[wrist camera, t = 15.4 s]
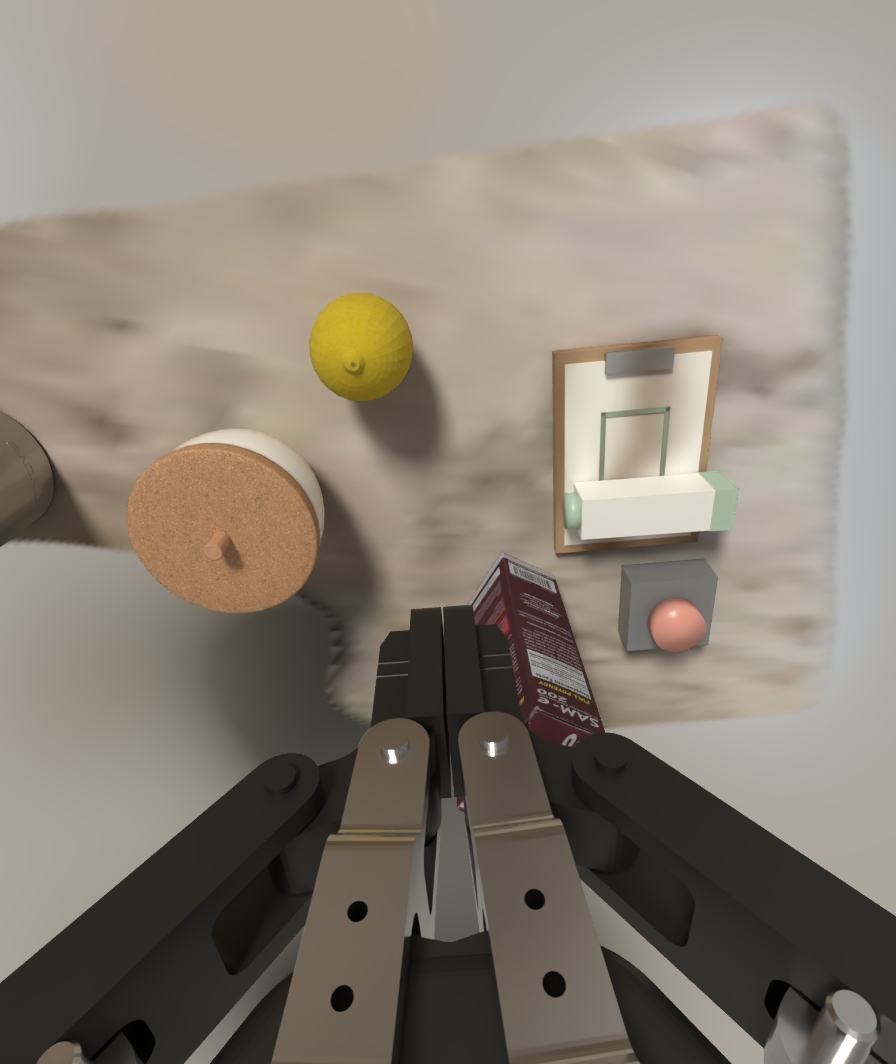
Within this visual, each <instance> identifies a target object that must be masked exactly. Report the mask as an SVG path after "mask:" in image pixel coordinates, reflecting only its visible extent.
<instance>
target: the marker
mask: <svg viewBox="0 0 896 1064" xmlns="http://www.w3.org/2000/svg"><path fill="white" fill-rule="evenodd" d="M738 491H739V488H738V487H737V486H736V485H734V484H733V483H732V482H731V481H730V480H729V479H728V478H727V477H726V476H725V475H724V474H723V473H722V472H721V471H708V472H698V473H695V474H681V475H668V476H655V477H642V478H629V479H615V480H602V481H589V482H576V483H574V493H564V494H563V497H562V515H563V522H564V526H565V529H566V530H573V529H577V531H578V533H579V536H580V538H581V540H586V539H599V538H613V537H627V536H641V535H654V534H668V533H682V532H696V531H724V530H732V527H733V521H734V515H735V509H736V503H737V497H738Z"/></svg>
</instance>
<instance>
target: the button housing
mask: <svg viewBox="0 0 896 1064" xmlns="http://www.w3.org/2000/svg"><path fill="white" fill-rule="evenodd" d="M717 580H718V577H717V575H716V574H715V573H714V571H713V570H712V569H711V567H710V566H709V565H708V564H707V562H706V561H705V560H704V559H697V560H685V561H673V562H660V563H648V564H636V565H624V566H622V573H621V591H620V609H619V627H618V631H619V633H620V636H621V638H622V640H623V643H624V645H625V648H626V650H627V651H636V650H649V649H662V648H660V647H659V646H658V645H657V644H656V642H655V640H654V638H653V636H652V634H651V632H650V630H649V628H648V624H647V620H648V616H649V614H650V612H651V610H652V609H653V608H654V607H655V606H656V605H658V604H659V603H661V602H663V601H665V600H668V599H671V598H683V599H687V600H689V601H691V602H692V603H693V604H694V605H695V606H696V608H697V609H698V611H699V612H700V614H701V615H702V617H703V618H704V620H705V622H706V633H705V635H704V637H703V638H702V640H701V641H700V642H699V643H698V644H697V645H695V646H701V645H708V641H709V635H710V628H711V621H712V614H713V608H714V601H715V594H716V587H717Z"/></svg>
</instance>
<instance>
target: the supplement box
mask: <svg viewBox="0 0 896 1064" xmlns="http://www.w3.org/2000/svg"><path fill="white" fill-rule="evenodd" d="M468 605H473V611H474V620H475V625H489V624H497V626H498V627H499V628H500V629H501V630H502V631H503V632H504V634H505V635H506V636H507V638H508V643H509V648H510V655H511V659H512V665H513V670H514V675H515V681H516V686H517V692H518V697H519V702H520V708H521V713H522V717H523V720H524V722H525V724H526V725H527V726H528V728H529V729H530V730H531V731H532V732H533V733H535V734H536V735H537V736H539V737H541V738H543V739H544V740H547V741H550V742H553V743H557V744H561V745H566V746H571V747H575V746H576V744H577V743H578V742H579V741H580V740H581V739H583V738H584V737H586V736H588V735H591V734H595V733H605V730H604V727H603V724H602V721H601V718H600V715H599V712H598V709H597V706H596V703H595V700H594V697H593V694H592V691H591V687H590V684H589V682H588V678H587V675H586V672H585V669H584V666H583V663H582V660H581V657H580V654H579V651H578V648H577V645H576V642H575V638H574V636H573V633H572V630H571V626H570V623H569V620H568V617H567V614H566V611H565V608H564V605H563V602H562V599H561V595H560V592H559V589H558V586H557V583H556V580H555V577H554V575H552V574H549V573H547V572H545V571H543V570H540V569H538V568H536V567H534V566H531V565H529V564H527V563H525V562H523V561H520V560H518V559H516V558H514V557H512V556H509V555H507V554H505V553H501V555H500V556H499V558H498V559H497V561H496V562H495V564H494V565H493V567H492V568H491V570H490V572H489V573H488V575H487V576H486V578H485V579H484V581H483V582H482V584H481V585H480V587H479V588H478V590H477V592H476V593H475V595H474V596H473V598H472V599H471V601H470V602H469V604H468ZM457 808H458V810H460V811H463V812H464V803H463V797H457Z"/></svg>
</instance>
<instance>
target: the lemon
mask: <svg viewBox="0 0 896 1064" xmlns="http://www.w3.org/2000/svg"><path fill="white" fill-rule="evenodd" d="M309 344H310V357H311V361H312V364H313V367H314V370H315V372H316V373H317V375H318V377H319V379H320V380H321V381H322V382H323V383H324V384H325V386H326V387H327V388H328V389H329V390H331V391H332V392H334V393H335V394H337V395H338V396H341V397H343V398H346V399H348V400H354V401H370V400H375V399H378V398H380V397H383V396H385V395H387V394H388V393H390V392H391V391H392V390H394V389H395V388H396V387H397V386H398V385H399V384H400V383H401V381H402V380H403V379H404V378H405V376H406V374H407V371H408V369H409V367H410V365H411V360H412V354H413V344H412V336H411V333H410V330H409V327H408V324H407V322H406V320H405V319H404V317H403V316H402V314H401V313H400V311H398V310H397V309H396V308H395V307H394V306H393V305H392V304H391V303H390V302H388V301H386V300H385V299H383V298H381V297H379V296H376V295H372V294H368V293H352V294H348V295H345V296H341V297H339V298H337V299H336V300H334V301H333V302H331V303H329V304H328V305H327V306H326V307H325V308H324V309H323V310H322V312H321V313H320V314H319V315H318V317H317V319H316V321H315V323H314V325H313V327H312V331H311V336H310V341H309Z"/></svg>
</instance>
